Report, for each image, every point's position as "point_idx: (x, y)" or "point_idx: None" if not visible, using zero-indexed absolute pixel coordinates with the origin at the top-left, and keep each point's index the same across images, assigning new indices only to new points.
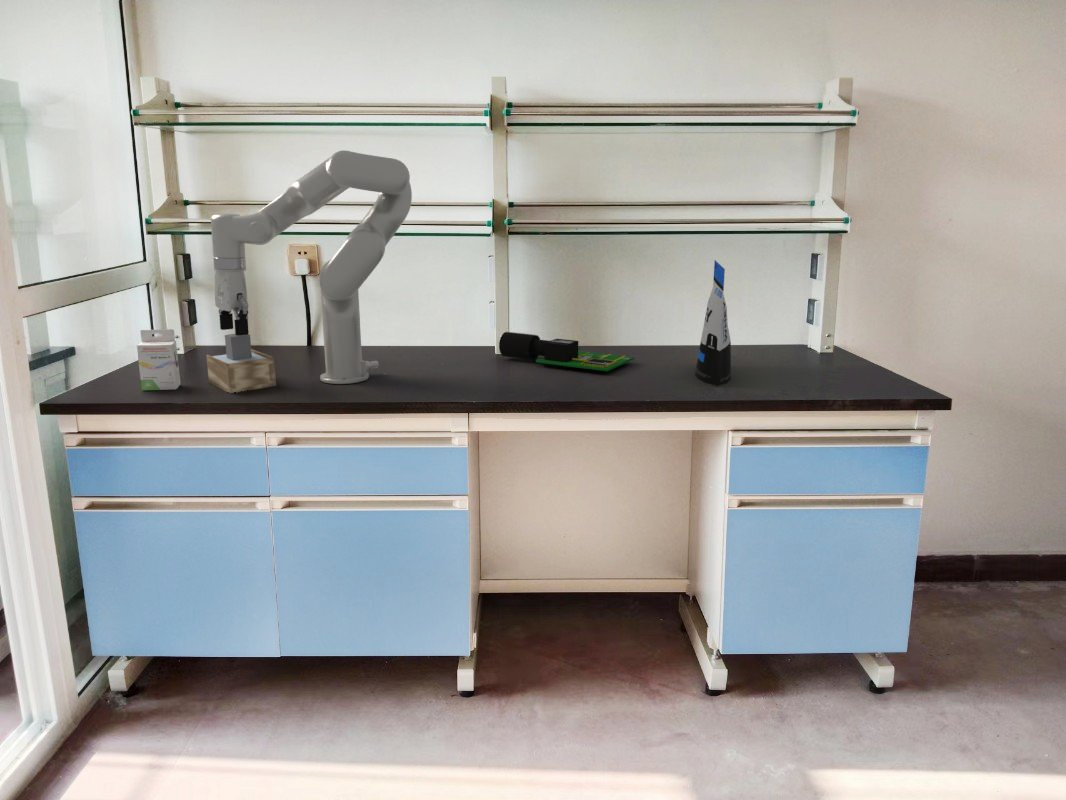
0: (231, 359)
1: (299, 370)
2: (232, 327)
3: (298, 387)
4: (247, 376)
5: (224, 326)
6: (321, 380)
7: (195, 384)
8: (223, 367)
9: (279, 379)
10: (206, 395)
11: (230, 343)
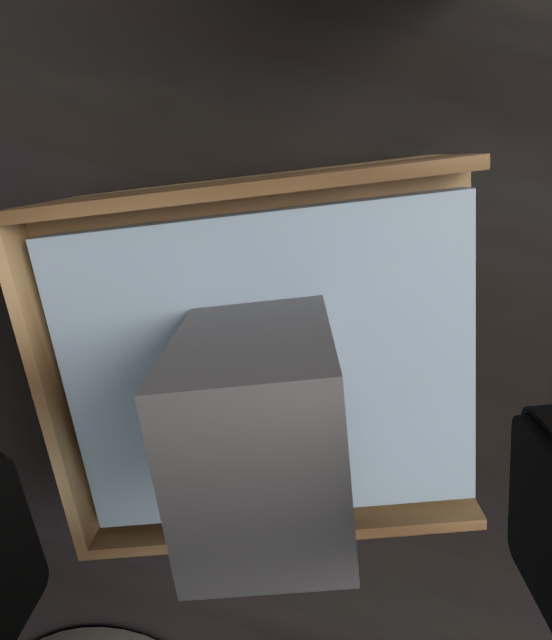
0: (220, 306)
1: (406, 625)
2: (516, 552)
3: (51, 516)
4: None
5: (528, 471)
6: (105, 628)
7: (447, 66)
8: (93, 198)
9: None
10: (104, 54)
11: (177, 359)
